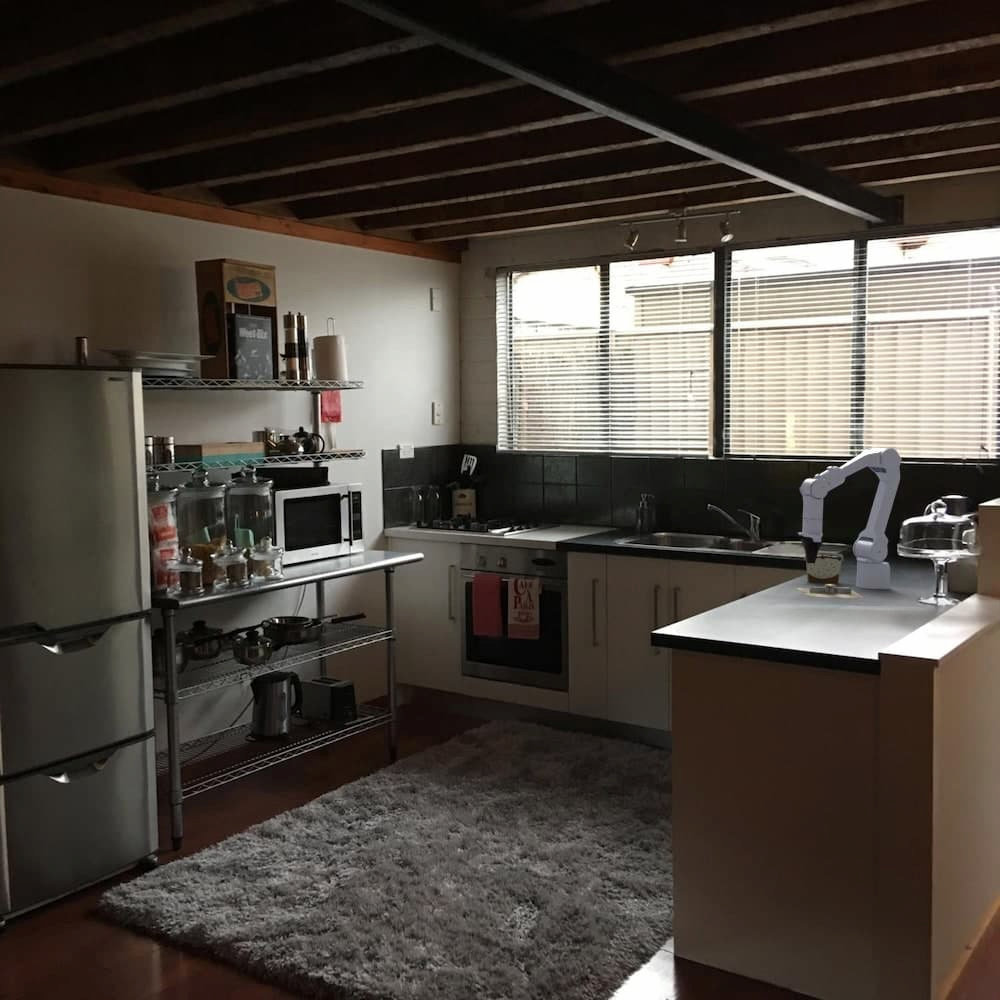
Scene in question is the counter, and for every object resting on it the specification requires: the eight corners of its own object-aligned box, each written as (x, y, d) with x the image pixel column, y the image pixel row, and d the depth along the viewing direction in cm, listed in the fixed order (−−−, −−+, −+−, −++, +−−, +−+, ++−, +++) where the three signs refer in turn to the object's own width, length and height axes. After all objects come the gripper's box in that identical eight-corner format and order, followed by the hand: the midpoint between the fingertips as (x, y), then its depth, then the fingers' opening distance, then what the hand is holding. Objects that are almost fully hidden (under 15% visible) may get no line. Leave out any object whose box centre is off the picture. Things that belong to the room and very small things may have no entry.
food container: (838, 583, 347) (840, 552, 347) (843, 586, 341) (844, 554, 341) (799, 582, 349) (800, 551, 348) (803, 585, 343) (804, 553, 342)
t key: (848, 592, 324) (848, 586, 324) (852, 594, 320) (852, 589, 320) (808, 591, 324) (808, 586, 324) (811, 593, 320) (811, 588, 320)
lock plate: (849, 592, 330) (850, 581, 330) (864, 601, 314) (865, 589, 314) (796, 591, 331) (797, 580, 330) (809, 600, 315) (809, 588, 314)
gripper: (793, 515, 334) (792, 559, 335) (804, 520, 320) (803, 566, 321) (817, 516, 334) (815, 560, 335) (828, 521, 319) (827, 566, 320)
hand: (810, 563), depth 328 cm, fingers closed
